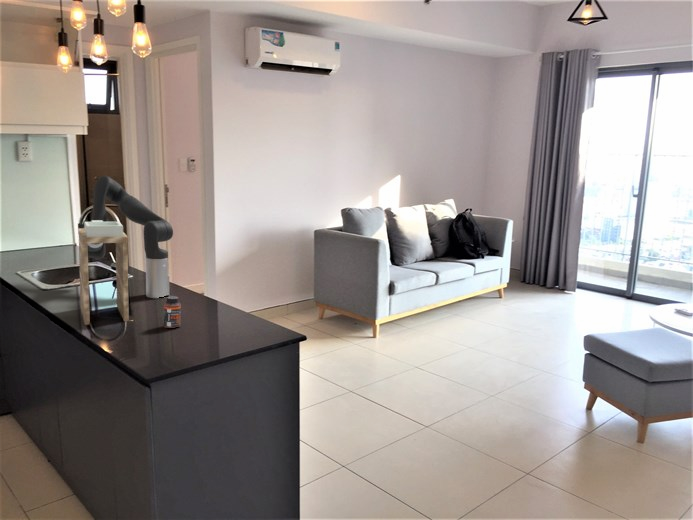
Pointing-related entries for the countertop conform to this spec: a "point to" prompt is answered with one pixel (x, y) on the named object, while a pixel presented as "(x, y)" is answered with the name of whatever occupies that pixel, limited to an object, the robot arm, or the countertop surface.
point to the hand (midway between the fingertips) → (97, 221)
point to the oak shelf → (120, 272)
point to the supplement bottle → (172, 312)
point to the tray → (103, 229)
